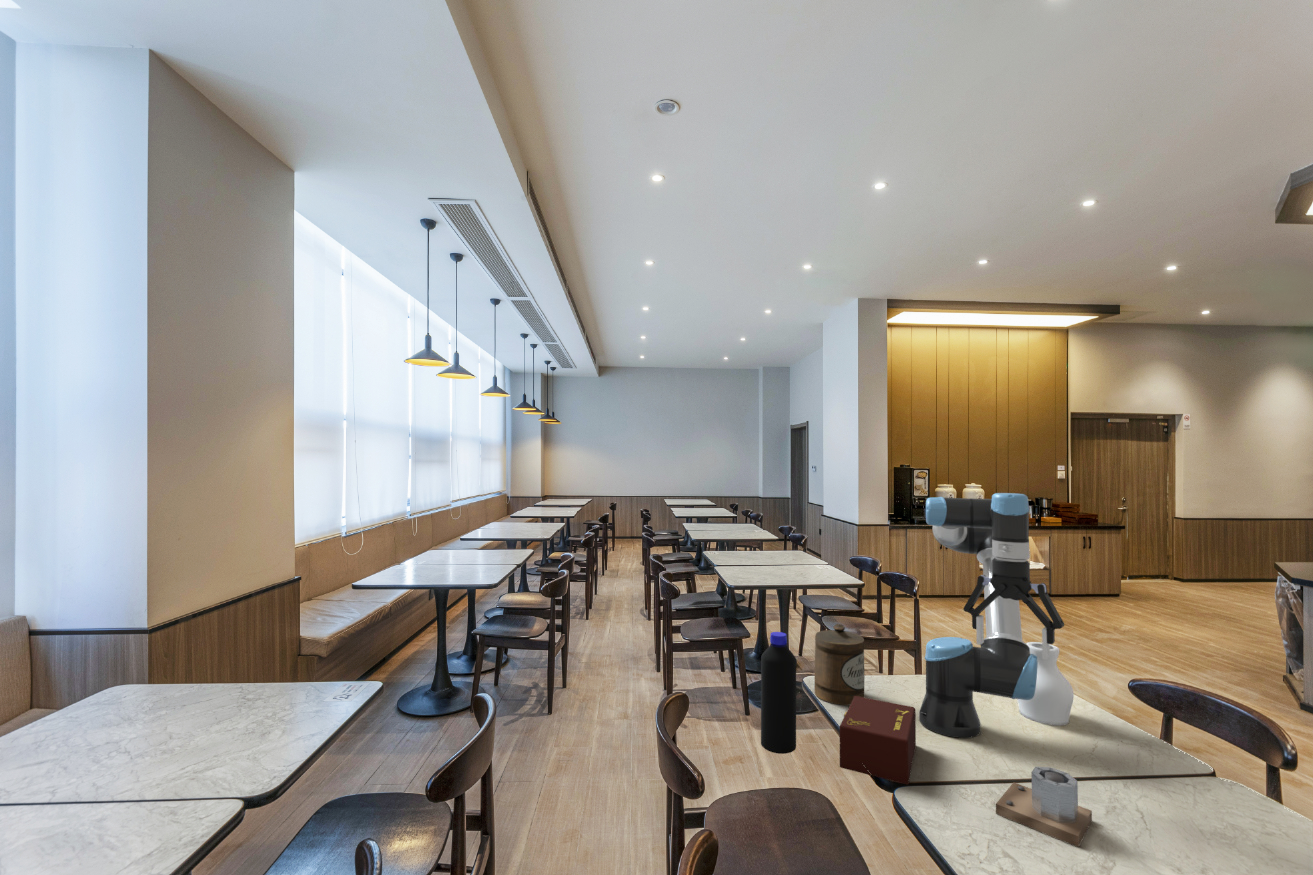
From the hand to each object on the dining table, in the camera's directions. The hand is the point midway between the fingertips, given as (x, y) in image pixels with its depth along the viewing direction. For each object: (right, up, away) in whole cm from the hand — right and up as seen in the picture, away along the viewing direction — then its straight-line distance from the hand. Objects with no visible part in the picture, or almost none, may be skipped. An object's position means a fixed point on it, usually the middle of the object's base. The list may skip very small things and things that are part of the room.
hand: (1012, 650), depth 135 cm
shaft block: (-4, -28, -17) cm, 33 cm away
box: (-29, -29, +8) cm, 42 cm away
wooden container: (-26, -31, +44) cm, 60 cm away
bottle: (-52, -29, +12) cm, 61 cm away
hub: (-3, -26, -18) cm, 32 cm away
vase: (+28, -31, +31) cm, 52 cm away
